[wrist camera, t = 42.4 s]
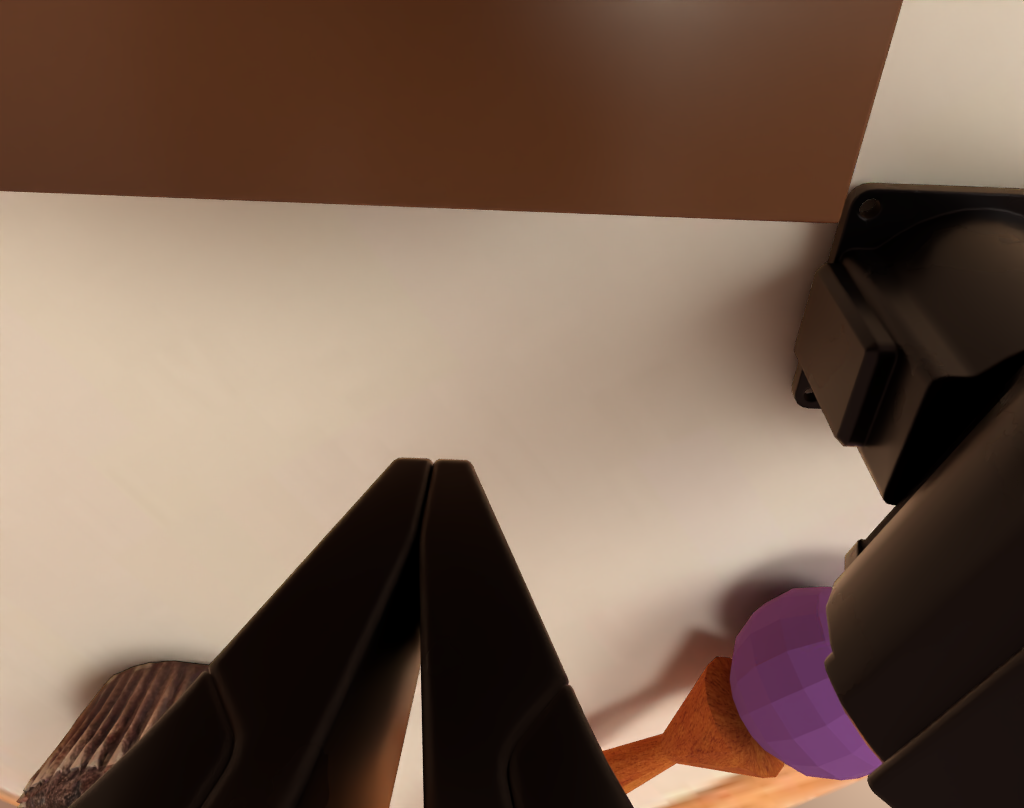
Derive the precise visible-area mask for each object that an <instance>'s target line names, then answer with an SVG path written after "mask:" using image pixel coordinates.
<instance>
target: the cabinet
mask: <svg viewBox="0 0 1024 808" xmlns="http://www.w3.org/2000/svg"><path fill="white" fill-rule="evenodd" d="M902 2H903V0H0V191H14V192H39V193H65V194H91V195H116V196H142V197H168V198H194V199H219V200H245V201H271V202H296V203H322V204H348V205H374V206H399V207H425V208H451V209H476V210H502V211H528V212H554V213H579V214H605V215H631V216H656V217H682V218H708V219H734V220H759V221H785V222H811V223H838V222H839V221H840V217H841V214H842V210H843V207H844V204H845V200H846V197H847V193H848V190H849V186H850V183H851V179H852V176H853V172H854V169H855V165H856V162H857V158H858V155H859V151H860V148H861V144H862V141H863V138H864V134H865V131H866V127H867V124H868V120H869V117H870V113H871V110H872V106H873V103H874V99H875V96H876V92H877V89H878V85H879V82H880V78H881V75H882V72H883V68H884V65H885V61H886V58H887V54H888V51H889V47H890V44H891V40H892V37H893V33H894V30H895V26H896V23H897V19H898V16H899V12H900V9H901V6H902Z"/></svg>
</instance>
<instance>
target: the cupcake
mask: <svg viewBox="0 0 1024 808" xmlns="http://www.w3.org/2000/svg"><path fill="white" fill-rule="evenodd" d="M208 668H209V665H204V664H194V663H185V662H178V661H163V662H159V663H147V664H143V665H139V666H134V667H131V668H129V669H127V670H125V671H123V672H121V673H118V674H115V675H113V676H112V677H111V678H110V679H109V680H108V681H107V682H106V683H105V684H104V686H103V687H102V688H101V689H100V691H99V692H98V693H97V694H96V696H95V697H94V698H93V700H92V701H91V702H90V703H89V705H88V706H87V707H86V708H85V710H84V711H83V712H82V713H81V715H80V716H79V717H78V719H77V720H76V721H75V723H74V725H73V726H72V728H71V729H70V730H69V732H68V733H67V734H66V736H65V737H64V738H63V740H62V741H61V742H60V744H59V745H58V746H57V748H56V749H55V750H54V751H53V753H52V754H51V755H50V756H49V758H48V759H47V760H46V761H45V763H44V764H43V765H42V767H41V768H40V769H39V770H38V771H37V772H36V773H35V774H34V776H33V777H32V778H31V779H30V781H29V782H28V784H27V785H26V787H25V789H24V790H23V791H24V793H23V794H22V795H21V797H20V798H19V799H18V800H17V802H18V803H20V805H19V806H18V807H17V808H68V807H69V806H70V805H71V804H72V803H73V802H75V801H76V800H77V799H78V798H79V797H80V796H81V795H82V794H83V793H84V792H85V791H87V790H88V789H89V788H90V787H91V786H92V785H93V784H94V783H95V782H96V781H97V780H98V779H99V778H100V777H101V776H102V775H103V774H104V773H105V772H106V771H107V770H109V769H110V768H111V767H112V766H113V765H114V764H115V763H116V762H117V761H118V760H119V759H120V758H121V757H122V756H123V755H124V754H125V753H126V752H127V751H128V750H129V749H131V748H132V747H133V746H134V745H135V744H136V743H137V742H138V741H139V740H140V739H141V738H142V736H143V735H144V734H145V733H146V732H147V731H148V730H149V729H150V728H151V727H152V726H153V725H154V724H155V723H156V722H157V721H158V720H159V719H160V718H161V717H162V715H163V714H164V713H165V712H166V711H167V710H168V709H169V708H170V707H171V706H172V705H173V704H174V703H175V702H176V701H177V700H178V699H179V697H180V696H181V695H182V694H183V693H184V692H185V691H186V690H187V689H188V688H189V686H190V685H191V684H192V683H193V682H194V681H195V680H196V679H197V677H198V676H199V675H200V674H201V673H202V672H204V671H208V672H209V669H208ZM209 673H210V672H209Z"/></svg>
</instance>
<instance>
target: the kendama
mask: <svg viewBox="0 0 1024 808" xmlns="http://www.w3.org/2000/svg"><path fill="white" fill-rule="evenodd" d="M831 591H832V587H828V586H827V587H807V588H793V589H791V590H789V591H787V592H785V593H783V594H781V595H779V596H777V597H775V598H774V599H772V600H770V601H768V602H766V603H764V604H763V605H762V606H761V607H760V608H758V609H757V610H756V611H755V612H754V613H753V614H752V615H751V617H750V618H749V620H748V621H747V622H746V624H745V625H744V627H743V628H742V629H741V631H740V632H739V634H738V635H737V636H736V640H735V646H734V651H733V657H732V659H731V658H728V657H716V658H715V659H714V660H713V661H711V662H710V663H709V664H708V665H707V667H706V668H705V670H704V671H703V673H702V674H701V676H700V678H699V679H698V681H697V682H696V684H695V685H694V687H693V688H692V690H691V691H690V693H689V694H688V696H687V698H686V699H685V701H684V702H683V704H682V705H681V707H680V708H679V710H678V711H677V713H676V714H675V716H674V718H673V719H672V721H671V722H670V724H669V725H668V727H667V728H666V730H665V731H664V733H663V734H660V735H656V736H653V737H650V738H646V739H643V740H639V741H636V742H632V743H629V744H625V745H622V746H619V747H615V748H612V749H608V750H605V751H602V752H603V754H604V756H605V758H606V760H607V762H608V764H609V765H610V767H611V769H612V771H613V772H614V774H615V776H616V778H617V779H618V781H619V783H620V785H621V786H622V788H623V790H624V792H625V793H626V794H627V793H629V792H630V791H632V790H634V789H635V788H637V787H639V786H640V785H642V784H643V783H645V782H647V781H648V780H650V779H652V778H653V777H655V776H656V775H658V774H660V773H661V772H663V771H665V770H666V769H668V768H669V767H671V766H673V765H674V764H676V763H678V764H684V765H690V766H695V767H701V768H707V769H713V770H719V771H725V772H731V773H737V774H743V775H749V776H755V777H761V778H768V777H776V776H777V775H778V773H779V772H780V770H781V769H782V768H783V766H784V763H785V764H787V765H789V766H790V767H792V768H794V769H796V770H797V771H799V772H801V773H803V774H804V775H806V776H812V777H820V778H828V779H836V780H847V779H856V778H860V777H863V776H866V775H869V774H871V773H872V772H873V771H874V770H875V769H877V768H878V767H879V766H880V765H881V764H883V763H882V762H881V761H880V760H879V759H878V757H877V756H876V755H875V754H874V753H873V752H872V750H871V749H870V748H869V747H868V746H867V745H866V743H865V742H864V740H863V739H862V737H861V736H860V734H859V733H858V731H857V730H856V728H855V727H854V725H853V724H852V722H851V721H850V719H849V718H848V716H847V715H846V713H845V712H844V710H843V708H842V706H841V704H840V701H839V699H838V697H837V695H836V693H835V691H834V689H833V687H832V685H831V682H830V680H829V678H828V676H827V673H826V670H825V665H824V662H825V659H826V657H827V656H828V655H829V654H830V653H831V652H832V649H831V646H830V639H829V631H828V623H827V615H826V605H827V602H828V600H829V597H830V594H831Z"/></svg>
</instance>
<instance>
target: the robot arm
mask: <svg viewBox="0 0 1024 808" xmlns="http://www.w3.org/2000/svg"><path fill="white" fill-rule="evenodd" d="M869 199H876V203H875V205H874V206H873V208H872V209H870V210H869V211H867V212H860V207H861V205H862V204H863V203H864V202H865V201H867V200H869ZM794 352H795V354H796V356H797V359H798V361H799V362H798V365H797V369H796V372H795V376H794V379H793V383H792V393H793V395H794V398H795V400H796V402H797V404H799V405H800V406H802V407H805V408H812V409H822V411H823V413H824V415H825V417H826V419H827V422H828V424H829V426H830V428H831V430H832V432H833V434H834V436H835V437H836V439H837V440H838V441H839V442H840V443H841V444H842V445H843V446H850V447H857V448H858V450H859V452H860V454H861V456H862V458H863V460H864V462H865V464H866V466H867V468H868V470H869V472H870V474H871V476H872V478H873V480H874V482H875V484H876V486H877V488H878V490H879V492H880V494H881V496H882V498H883V500H884V501H885V502H886V503H887V504H891V505H896V506H895V507H894V508H893V509H892V511H891V512H890V513H889V514H888V515H887V516H886V517H885V518H884V519H883V521H882V522H881V523H880V524H879V525H878V526H877V527H876V528H875V529H874V531H873V532H872V533H871V534H870V535H869V536H868V537H867V538H866V539H865V540H863V539H860V540H858V541H857V543H856V544H855V545H854V546H853V547H852V548H851V549H850V550H849V552H848V553H847V554H846V555H845V571H844V572H843V573H842V574H841V575H840V577H839V578H838V579H837V580H836V581H835V582H834V585H833V588H832V591H831V594H830V597H829V600H828V602H827V605H826V615H827V623H828V631H829V639H830V646H831V649H832V652H831V653H830V654H829V655H828V656H827V657H826V659H825V662H824V665H825V670H826V673H827V676H828V678H829V680H830V682H831V685H832V687H833V689H834V691H835V693H836V695H837V697H838V699H839V701H840V704H841V706H842V708H843V710H844V712H845V713H846V715H847V716H848V718H849V719H850V721H851V722H852V724H853V725H854V727H855V728H856V730H857V731H858V733H859V734H860V736H861V737H862V739H863V740H864V742H865V743H866V745H867V746H868V747H869V748H870V749H871V750H872V752H873V753H874V754H875V755H876V756H877V757H878V759H879V760H880V761H881V762H882V763H883V764H881V765H880V766H879V767H878V768H877V769H875V770H874V771H873V772H872V773H871V774H869V775H868V779H867V781H868V784H869V786H870V788H871V789H872V791H873V792H874V793H875V794H876V795H877V796H878V797H880V798H881V799H882V800H883V801H885V802H886V803H887V804H888V805H889V806H890V807H892V808H1024V189H1019V188H993V187H967V186H941V185H916V184H890V183H866V184H862V185H860V186H858V187H856V188H854V189H853V190H852V191H851V192H850V193H849V194H848V196H847V198H846V200H845V204H844V207H843V210H842V214H841V217H840V221H839V223H838V226H837V230H836V233H835V237H834V240H833V244H832V247H831V251H830V254H829V258H828V261H827V263H824V264H823V265H822V266H821V267H820V268H819V269H818V270H817V271H816V272H815V275H814V279H813V282H812V286H811V289H810V293H809V297H808V300H807V304H806V307H805V311H804V314H803V318H802V321H801V325H800V329H799V332H798V336H797V339H796V343H795V346H794ZM810 387H811V388H812V390H813V392H812V393H805V391H806V390H807V389H809V388H810ZM420 665H421V699H422V745H423V792H424V808H634V807H633V806H632V804H631V802H630V800H629V799H628V797H627V795H626V793H625V792H624V790H623V788H622V786H621V785H620V783H619V781H618V779H617V778H616V776H615V774H614V772H613V771H612V769H611V767H610V765H609V764H608V762H607V760H606V758H605V756H604V754H603V752H602V750H601V747H600V745H599V743H598V741H597V739H596V737H595V735H594V733H593V731H592V729H591V727H590V725H589V723H588V721H587V719H586V717H585V715H584V712H583V710H582V708H581V706H580V704H579V701H578V699H577V697H576V695H575V692H574V690H573V688H572V687H571V686H570V685H568V683H569V681H568V678H567V675H566V673H565V671H564V669H563V666H562V664H561V662H560V660H559V657H558V655H557V653H556V651H555V648H554V646H553V644H552V642H551V640H550V637H549V635H548V633H547V631H546V628H545V626H544V624H543V622H542V619H541V617H540V615H539V613H538V610H537V608H536V606H535V604H534V601H533V599H532V597H531V595H530V592H529V590H528V588H527V586H526V584H525V581H524V579H523V577H522V575H521V572H520V570H519V568H518V566H517V563H516V561H515V559H514V557H513V554H512V552H511V550H510V548H509V545H508V543H507V541H506V539H505V536H504V534H503V532H502V530H501V528H500V525H499V523H498V521H497V519H496V516H495V514H494V512H493V510H492V507H491V505H490V503H489V501H488V498H487V496H486V494H485V492H484V489H483V487H482V485H481V483H480V480H479V478H478V476H477V474H476V472H475V469H474V467H473V465H472V464H471V462H469V461H468V460H454V459H438V460H436V461H435V463H434V464H433V463H432V461H431V460H430V459H427V458H397V459H396V460H394V461H393V462H392V463H391V464H390V465H389V466H388V468H387V469H386V470H385V471H384V472H383V473H382V474H381V475H380V476H379V477H378V479H377V480H376V481H375V482H374V483H373V484H372V485H371V486H370V487H369V489H368V490H367V491H366V492H365V493H364V494H363V495H362V496H361V497H360V499H359V500H358V501H357V502H356V503H355V504H354V505H353V506H352V507H351V509H350V510H349V511H348V512H347V513H346V514H345V515H344V516H343V517H342V518H341V520H340V521H339V522H338V523H337V524H336V525H335V526H334V527H333V528H332V530H331V531H330V532H329V533H328V534H327V535H326V536H325V537H324V538H323V540H322V541H321V542H320V543H319V544H318V545H317V546H316V547H315V548H314V549H313V551H312V552H311V553H310V554H309V555H308V556H307V557H306V558H305V559H304V561H303V562H302V563H301V564H300V565H299V566H298V567H297V568H296V569H295V571H294V572H293V573H292V574H291V575H290V576H289V577H288V578H287V579H286V581H285V582H284V583H283V584H282V585H281V586H280V587H279V588H278V589H277V590H276V592H275V593H274V594H273V595H272V596H271V597H270V598H269V599H268V600H267V602H266V603H265V604H264V605H263V606H262V607H261V608H260V609H259V610H258V612H257V613H256V614H255V615H254V616H253V617H252V618H251V619H250V620H249V622H248V623H247V624H246V625H245V626H244V627H243V628H242V629H241V630H240V631H239V633H238V634H237V635H236V636H235V637H234V638H233V639H232V640H231V641H230V643H229V644H228V645H227V646H226V647H225V648H224V649H223V650H222V651H221V653H220V654H219V655H218V656H217V657H216V658H215V659H214V660H213V661H212V663H211V664H210V665H209V668H208V669H209V672H210V673H209V672H208V671H204V672H202V673H201V674H200V675H199V676H198V677H197V679H196V680H195V681H194V682H193V683H192V684H191V685H190V686H189V688H188V689H187V690H186V691H185V692H184V693H183V694H182V695H181V696H180V697H179V699H178V700H177V701H176V702H175V703H174V704H173V705H172V706H171V707H170V708H169V709H168V710H167V711H166V712H165V713H164V714H163V715H162V717H161V718H160V719H159V720H158V721H157V722H156V723H155V724H154V725H153V726H152V727H151V728H150V729H149V730H148V731H147V732H146V733H145V734H144V735H143V736H142V738H141V739H140V740H139V741H138V742H137V743H136V744H135V745H134V746H133V747H132V748H131V749H129V750H128V751H127V752H126V753H125V754H124V755H123V756H122V757H121V758H120V759H119V760H118V761H117V762H116V763H115V764H114V765H113V766H112V767H111V768H110V769H109V770H107V771H106V772H105V773H104V774H103V775H102V776H101V777H100V778H99V779H98V780H97V781H96V782H95V783H94V784H93V785H92V786H91V787H90V788H89V789H88V790H87V791H85V792H84V793H83V794H82V795H81V796H80V797H79V798H78V799H77V800H76V801H75V802H73V803H72V804H71V805H70V806H69V807H68V808H389V806H390V801H391V797H392V792H393V788H394V783H395V779H396V774H397V770H398V765H399V761H400V756H401V752H402V747H403V743H404V738H405V734H406V729H407V725H408V720H409V716H410V711H411V707H412V702H413V698H414V693H415V689H416V684H417V680H418V675H419V670H420Z"/></svg>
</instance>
